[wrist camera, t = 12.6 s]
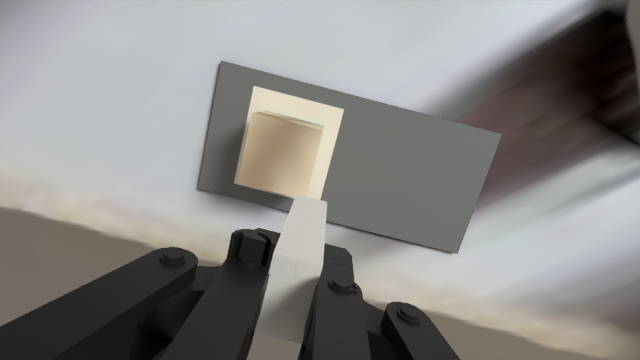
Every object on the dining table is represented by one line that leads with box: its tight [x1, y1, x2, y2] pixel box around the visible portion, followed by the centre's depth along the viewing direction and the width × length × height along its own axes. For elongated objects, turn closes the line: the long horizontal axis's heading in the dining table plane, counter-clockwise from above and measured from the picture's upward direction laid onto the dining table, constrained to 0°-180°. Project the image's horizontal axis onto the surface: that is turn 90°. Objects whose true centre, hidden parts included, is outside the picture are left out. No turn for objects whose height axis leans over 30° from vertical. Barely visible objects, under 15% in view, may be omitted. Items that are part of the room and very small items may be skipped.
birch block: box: [237, 110, 324, 197], centre depth 33 cm, size 6×6×6 cm
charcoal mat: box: [198, 61, 502, 254], centre depth 37 cm, size 28×13×1 cm, turn 76°
